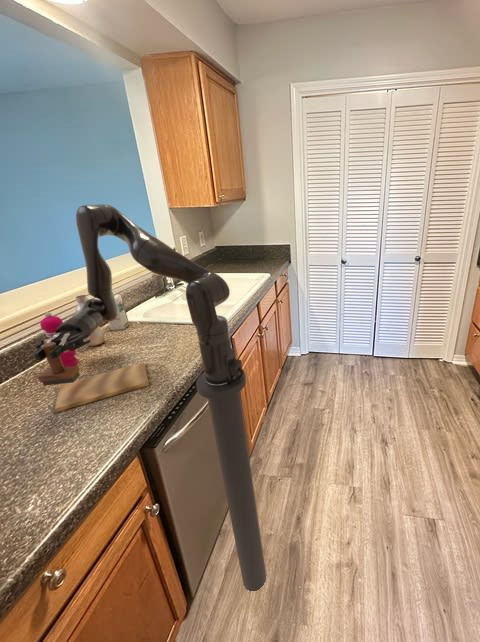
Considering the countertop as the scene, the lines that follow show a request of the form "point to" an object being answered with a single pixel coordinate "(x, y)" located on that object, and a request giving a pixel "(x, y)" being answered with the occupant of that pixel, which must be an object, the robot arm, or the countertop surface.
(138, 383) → the cutting board
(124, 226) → the robot arm
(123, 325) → the syrup box
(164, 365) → the countertop surface
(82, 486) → the countertop surface
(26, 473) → the countertop surface
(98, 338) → the plastic bottle
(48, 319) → the pepper mill
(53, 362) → the scrub brush
